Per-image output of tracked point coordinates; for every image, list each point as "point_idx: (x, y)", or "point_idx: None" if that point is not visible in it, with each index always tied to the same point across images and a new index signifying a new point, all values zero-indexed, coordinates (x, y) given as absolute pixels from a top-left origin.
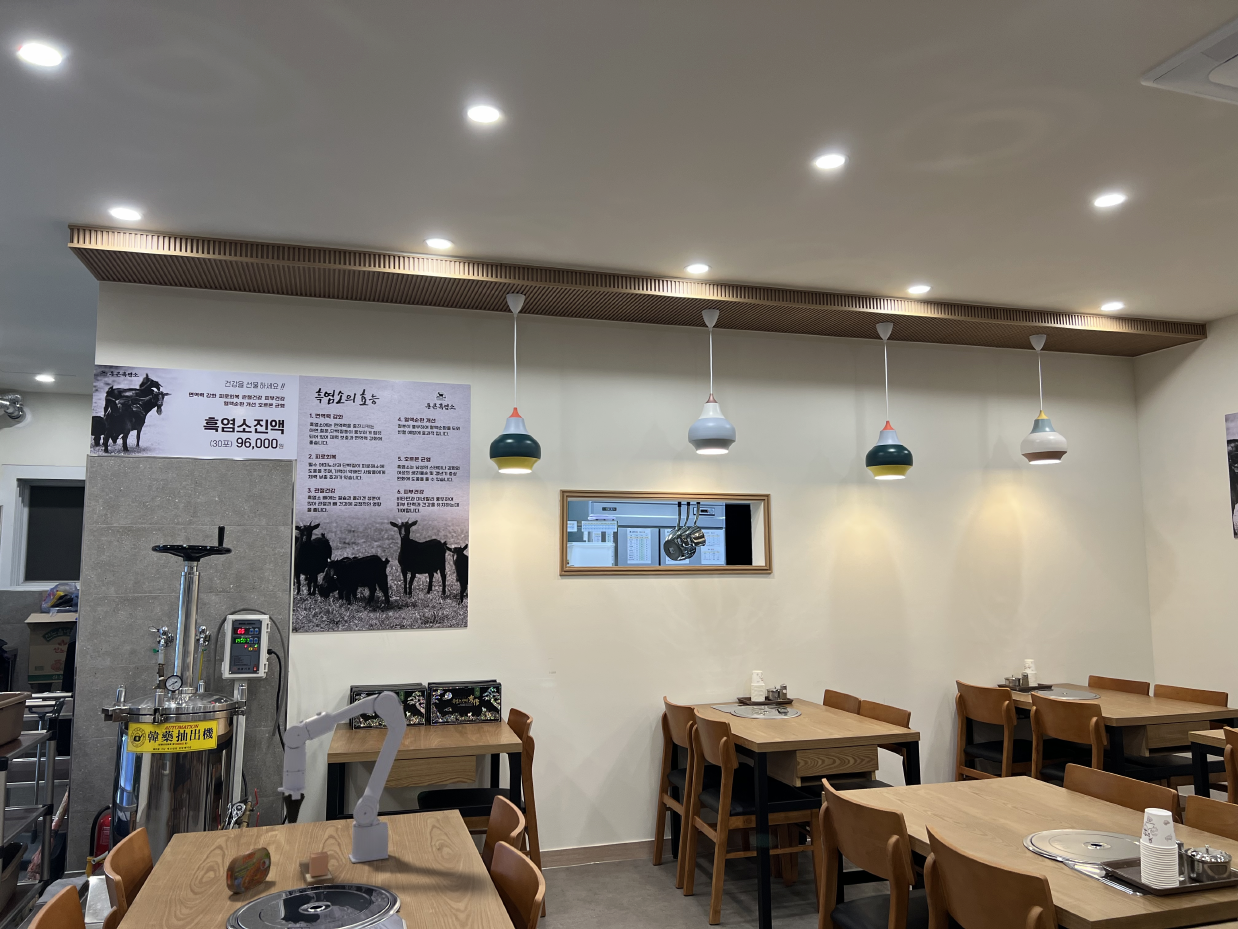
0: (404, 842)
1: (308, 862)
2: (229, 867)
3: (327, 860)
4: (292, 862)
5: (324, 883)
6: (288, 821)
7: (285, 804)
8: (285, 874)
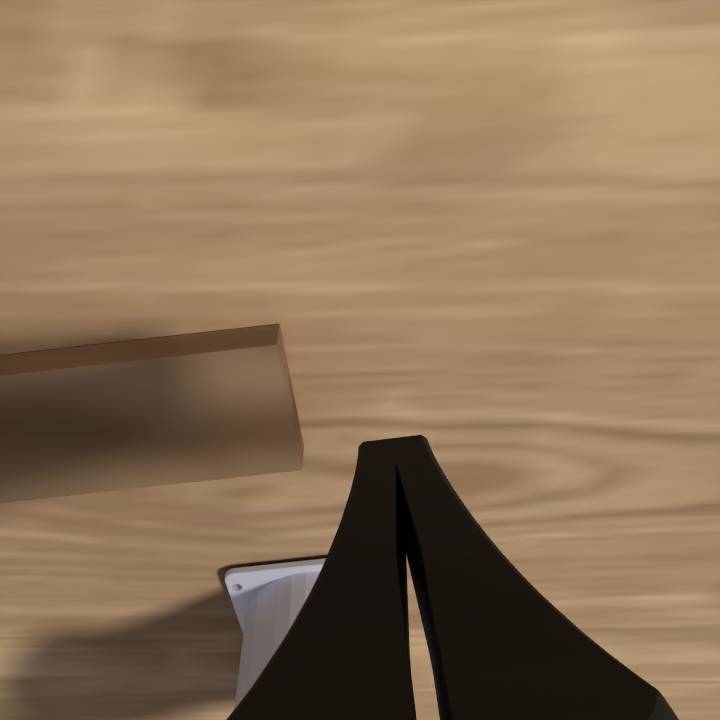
0: None
1: (193, 401)
2: None
3: None
4: (424, 277)
5: None
6: (358, 462)
7: (266, 673)
8: (93, 245)
